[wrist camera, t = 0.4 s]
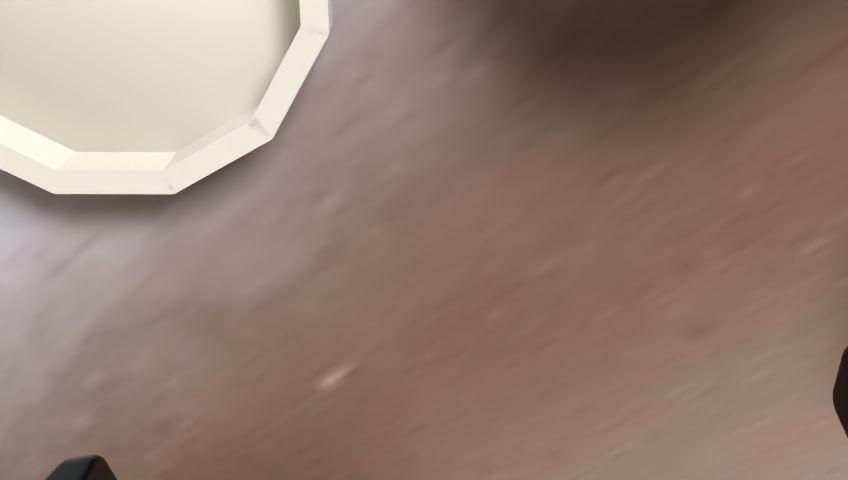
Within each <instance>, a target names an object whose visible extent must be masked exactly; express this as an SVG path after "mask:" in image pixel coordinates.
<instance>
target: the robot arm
mask: <svg viewBox="0 0 848 480" xmlns="http://www.w3.org/2000/svg"><path fill="white" fill-rule="evenodd" d="M833 403H834V407H835V410H836V413H837V415H838V417H839V420H840V422H841V424H842V426H843V428H844V431H845V433H846V435H847V437H848V347H847V348H846V349H845V350H844V352H843V355H842V359H841V362H840V366H839V370H838V374H837V377H836V381H835V385H834V389H833ZM45 480H117V479H116V477H115V476H114V474H113V472H112V471H111V469H110V467H109V465H108V464H107V462H106V461H105V459H104V458H103V457H101V456H99V455H88V456H81V457H74V458H69V459H67V460H64V461H63V462H62V463H60V464H59V465H58V466H57V467H56V468H55V469H54V470H53V471H52V473H51V474H50V475H49V476H48V477H47V478H46V479H45Z"/></svg>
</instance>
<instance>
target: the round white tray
mask: <svg viewBox="0 0 848 480" xmlns="http://www.w3.org/2000/svg"><path fill="white" fill-rule="evenodd" d="M331 26H332V0H0V169H2V170H4V171H6V172H8V173H10V174H12V175H14V176H17V177H19V178H21V179H23V180H25V181H27V182H29V183H32V184H34V185H36V186H38V187H40V188H42V189H44V190H47V191H49V192H51V193H53V194H175V193H177V192H179V191H181V190H182V189H184V188H186V187H188V186H190V185H191V184H193V183H195V182H197V181H199V180H200V179H202V178H204V177H206V176H207V175H209V174H211V173H213V172H215V171H216V170H218V169H220V168H222V167H224V166H225V165H227V164H229V163H231V162H232V161H234V160H236V159H238V158H240V157H241V156H243V155H245V154H247V153H249V152H250V151H252V150H254V149H256V148H257V147H259V146H261V145H263V144H265V143H266V142H268V141H270V140H272V139H273V137H274V135H275V133H276V131H277V129H278V128H279V126H280V124H281V122H282V120H283V118H284V117H285V115H286V113H287V111H288V109H289V107H290V105H291V104H292V102H293V100H294V98H295V96H296V94H297V93H298V91H299V89H300V87H301V85H302V83H303V81H304V80H305V78H306V76H307V74H308V72H309V70H310V69H311V67H312V65H313V63H314V61H315V59H316V58H317V56H318V54H319V52H320V50H321V48H322V46H323V45H324V43H325V41H326V39H327V37H328V35H329V33H330V29H331Z"/></svg>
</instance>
